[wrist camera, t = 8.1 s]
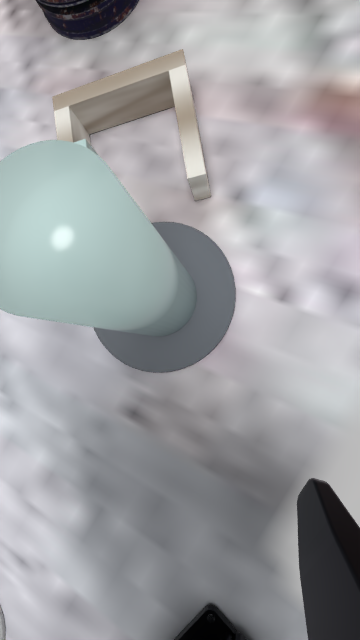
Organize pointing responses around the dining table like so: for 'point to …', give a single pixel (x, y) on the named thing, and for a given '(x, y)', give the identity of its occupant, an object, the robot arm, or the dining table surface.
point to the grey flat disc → (207, 317)
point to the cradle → (137, 108)
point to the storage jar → (85, 16)
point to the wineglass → (2, 626)
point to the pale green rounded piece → (84, 246)
